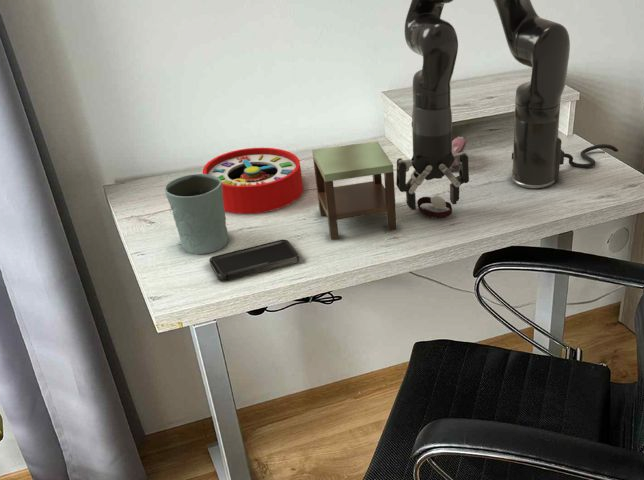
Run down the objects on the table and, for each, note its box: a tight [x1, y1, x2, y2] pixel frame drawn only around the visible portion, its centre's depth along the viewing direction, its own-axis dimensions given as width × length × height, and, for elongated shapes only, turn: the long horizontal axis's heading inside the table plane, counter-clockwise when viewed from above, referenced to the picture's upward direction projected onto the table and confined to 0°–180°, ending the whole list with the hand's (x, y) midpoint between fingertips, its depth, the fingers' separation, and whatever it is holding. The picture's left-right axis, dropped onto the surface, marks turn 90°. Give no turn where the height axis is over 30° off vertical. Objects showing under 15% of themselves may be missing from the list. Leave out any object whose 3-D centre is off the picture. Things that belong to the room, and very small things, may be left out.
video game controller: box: [450, 135, 468, 168], centre depth 182 cm, size 10×5×7 cm, turn 168°
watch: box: [416, 194, 453, 219], centre depth 163 cm, size 8×5×4 cm, turn 59°
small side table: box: [311, 140, 398, 241], centre depth 158 cm, size 13×12×14 cm
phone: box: [208, 239, 300, 282], centre depth 149 cm, size 8×1×15 cm
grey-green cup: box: [164, 173, 229, 255], centre depth 152 cm, size 10×10×12 cm
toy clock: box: [202, 147, 304, 215], centre depth 171 cm, size 20×6×20 cm
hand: (433, 205), depth 163 cm, fingers open, 8 cm apart
